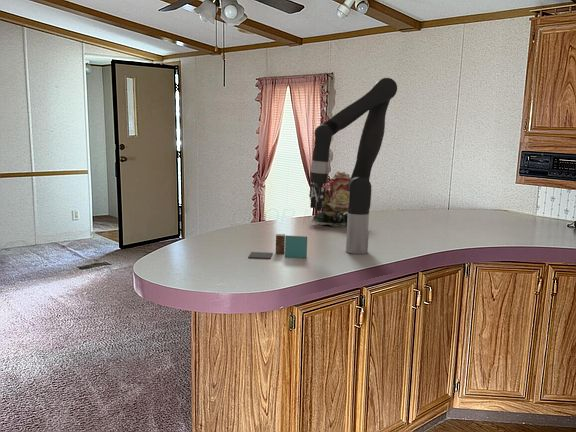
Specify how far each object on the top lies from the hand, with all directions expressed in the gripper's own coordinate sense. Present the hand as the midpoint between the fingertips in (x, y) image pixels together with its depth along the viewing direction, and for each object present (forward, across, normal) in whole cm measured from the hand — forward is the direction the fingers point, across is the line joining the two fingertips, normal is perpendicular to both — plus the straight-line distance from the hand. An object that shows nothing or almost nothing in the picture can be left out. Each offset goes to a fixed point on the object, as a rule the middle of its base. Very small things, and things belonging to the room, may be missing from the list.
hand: (315, 209), depth 228 cm
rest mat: (+20, -6, +24) cm, 32 cm away
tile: (+19, -10, +10) cm, 24 cm away
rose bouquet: (+17, +68, -35) cm, 78 cm away
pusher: (+20, -2, +15) cm, 24 cm away
